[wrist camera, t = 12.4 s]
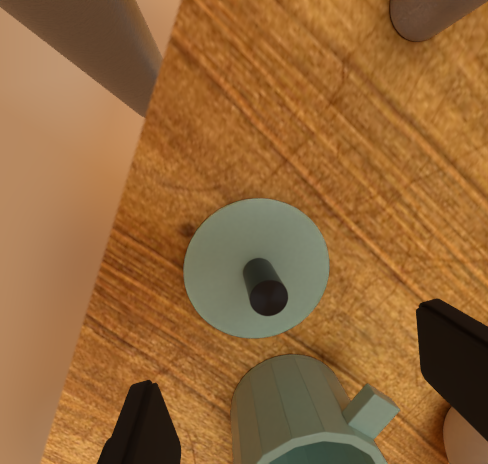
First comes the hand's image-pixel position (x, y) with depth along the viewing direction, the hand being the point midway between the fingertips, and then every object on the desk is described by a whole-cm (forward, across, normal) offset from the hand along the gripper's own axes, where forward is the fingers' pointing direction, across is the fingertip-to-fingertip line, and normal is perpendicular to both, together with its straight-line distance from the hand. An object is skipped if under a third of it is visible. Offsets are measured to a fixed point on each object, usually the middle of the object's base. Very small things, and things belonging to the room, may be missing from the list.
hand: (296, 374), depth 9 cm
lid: (+12, 0, +1) cm, 12 cm away
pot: (+12, 0, +15) cm, 19 cm away
